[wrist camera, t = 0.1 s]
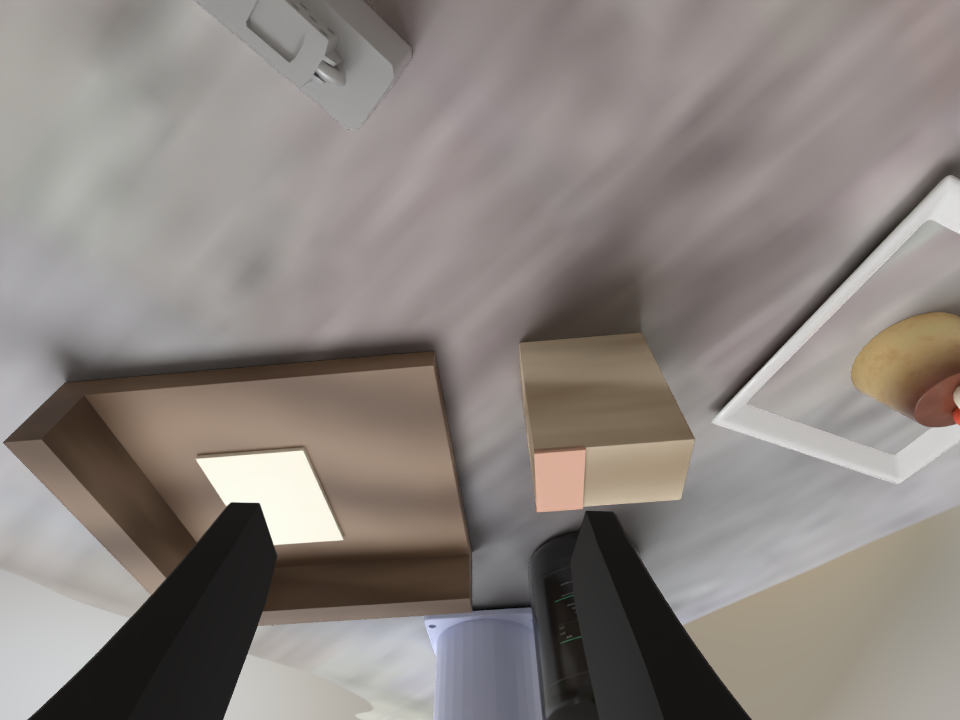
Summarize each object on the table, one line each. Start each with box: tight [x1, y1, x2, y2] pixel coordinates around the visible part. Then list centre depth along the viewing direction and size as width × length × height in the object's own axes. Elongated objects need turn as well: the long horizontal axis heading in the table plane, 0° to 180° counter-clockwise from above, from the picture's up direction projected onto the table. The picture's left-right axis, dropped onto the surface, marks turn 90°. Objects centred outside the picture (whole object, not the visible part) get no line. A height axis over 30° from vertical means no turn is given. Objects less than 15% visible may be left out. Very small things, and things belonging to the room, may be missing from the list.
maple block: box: [519, 332, 695, 512], centre depth 19 cm, size 3×5×6 cm, turn 95°
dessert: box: [712, 175, 960, 484], centre depth 20 cm, size 12×12×5 cm
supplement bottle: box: [528, 532, 642, 720], centre depth 25 cm, size 7×7×12 cm
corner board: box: [3, 351, 472, 626], centre depth 24 cm, size 15×16×4 cm
